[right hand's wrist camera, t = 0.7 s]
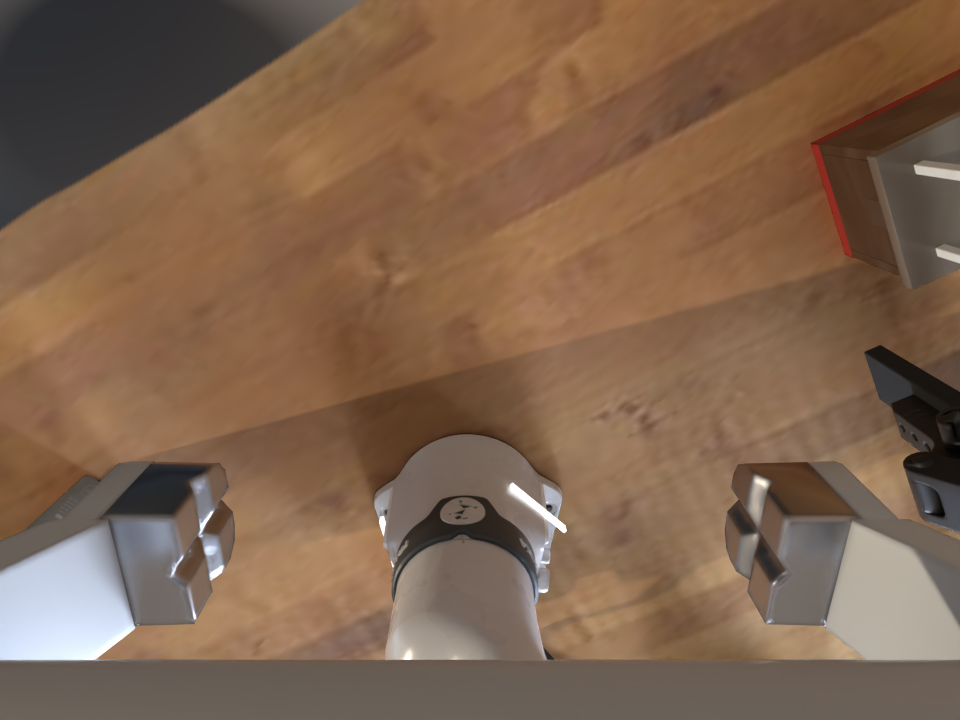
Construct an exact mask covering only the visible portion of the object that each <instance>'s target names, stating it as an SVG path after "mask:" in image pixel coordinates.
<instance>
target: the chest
mask: <svg viewBox="0 0 960 720" xmlns="http://www.w3.org/2000/svg"><path fill="white" fill-rule="evenodd" d="M959 111H960V70H958V71H956V72H954V73H952V74H950V75H948V76H946V77H943V78H941V79H939V80H937V81H935V82H933V83H931V84H929V85H927V86H925V87H923V88H921V89H919V90H917V91H915V92H913V93H911V94H909V95H907V96H905V97H903V98H901V99H899V100H897V101H895V102H893V103H891V104H889V105H887V106H885V107H883V108H881V109H879V110H877V111H875V112H873V113H871V114H869V115H867V116H865V117H863V118H861V119H859V120H857V121H855V122H853V123H851V124H849V125H847V126H845V127H843V128H841V129H839V130H837V131H835V132H833V133H831V134H829V135H827V136H825V137H823V138H821V139H819V140H817V141H815V142H813V143H811V146H812V149H813V152H814V156H815V159H816V162H817V165H818V168H819V172H820V175H821V178H822V181H823V184H824V188H825V191H826V194H827V197H828V200H829V204H830V207H831V210H832V213H833V216H834V220H835V223H836V226H837V229H838V232H839V236H840V239H841V242H842V245H843V248H844V252H845V255H848V256H850V257H854V258H856V259H859V260H861V261H864V262H866V263H869V264H871V265H874V266H876V267H879V268H881V269H884V270H886V271H889V272H891V273H893V274H896V275H898V276H900V272H899V269H898V265H897V262H896V258H895V255H894V251H893V247H892V244H891V240H890V237H889V233H888V230H887V226H886V223H885V219H884V216H883V212H882V209H881V205H880V202H879V198H878V195H877V191H876V188H875V184H874V181H873V177H872V174H871V170H870V167H869V163H868V160H867V156H868V155H870V154H872V153H874V152H876V151H878V150H881V149H883V148H885V147H887V146H889V145H891V144H893V143H895V142H897V141H899V140H901V139H903V138H905V137H907V136H909V135H911V134H913V133H915V132H918V131H920V130H922V129H924V128H926V127H928V126H930V125H932V124H934V123H936V122H938V121H940V120H942V119H944V118H946V117H948V116H950V115H952V114H955V113H957V112H959Z"/></svg>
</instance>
